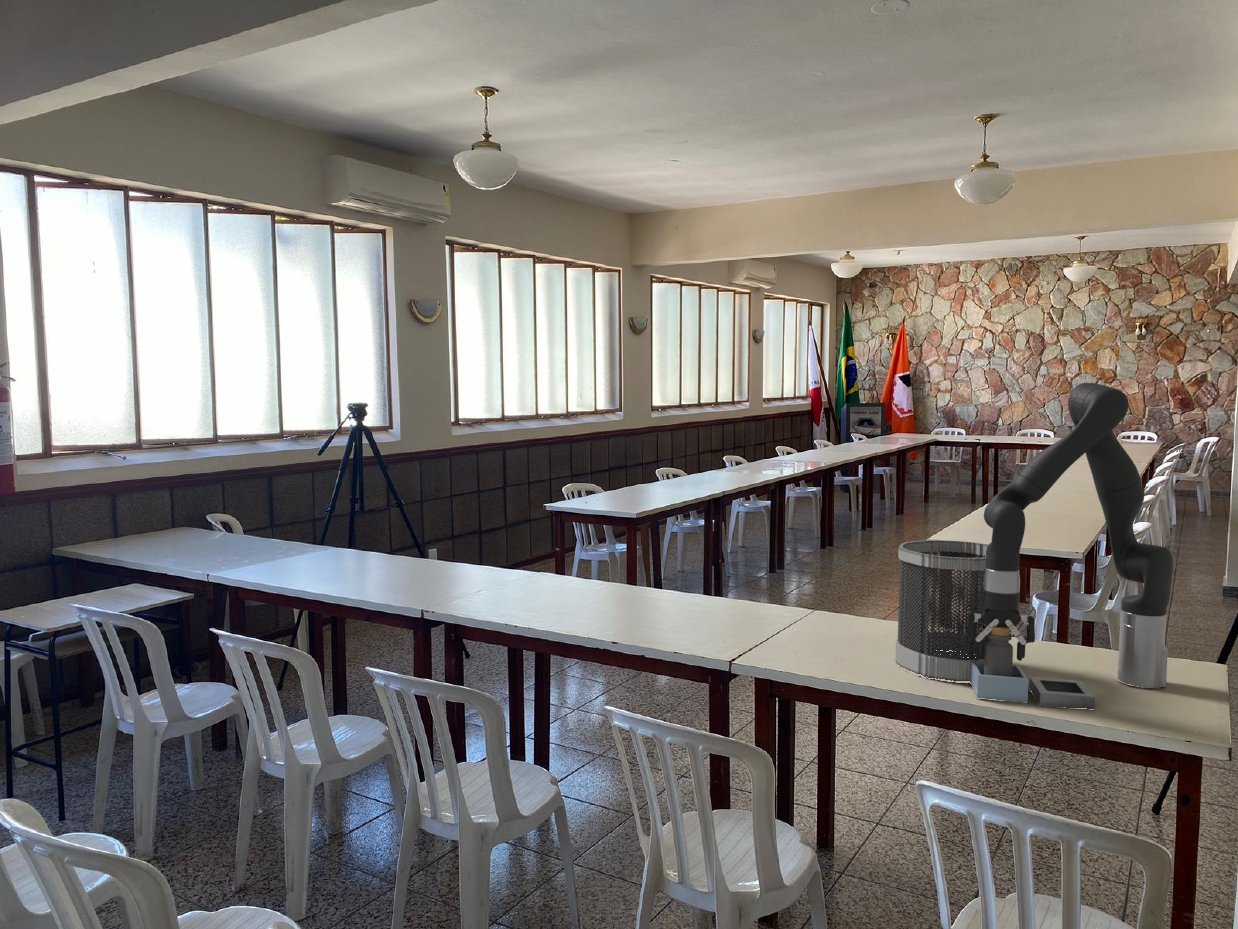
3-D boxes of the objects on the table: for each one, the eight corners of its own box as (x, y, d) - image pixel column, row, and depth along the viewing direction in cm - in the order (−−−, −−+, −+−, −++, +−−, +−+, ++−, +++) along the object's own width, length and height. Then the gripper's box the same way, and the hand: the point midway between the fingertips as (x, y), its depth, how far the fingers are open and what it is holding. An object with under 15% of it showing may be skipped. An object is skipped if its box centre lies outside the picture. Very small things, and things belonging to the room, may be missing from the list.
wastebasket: (954, 648, 237) (957, 538, 235) (1028, 676, 214) (1033, 554, 211) (876, 658, 228) (879, 543, 226) (945, 688, 205) (949, 561, 202)
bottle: (1016, 691, 200) (1019, 627, 199) (1000, 696, 197) (1003, 630, 196) (994, 684, 205) (996, 621, 204) (978, 689, 202) (980, 624, 201)
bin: (1017, 688, 205) (1018, 665, 205) (1027, 703, 195) (1028, 679, 194) (970, 684, 207) (971, 661, 207) (977, 699, 197) (978, 675, 197)
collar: (1081, 693, 201) (1081, 681, 201) (1094, 710, 191) (1095, 697, 190) (1029, 689, 204) (1029, 677, 204) (1039, 706, 193) (1040, 692, 193)
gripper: (970, 590, 197) (968, 661, 199) (1039, 593, 194) (1036, 665, 195) (965, 583, 205) (963, 651, 206) (1032, 586, 201) (1029, 655, 203)
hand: (999, 658), depth 201 cm, fingers open, 8 cm apart
